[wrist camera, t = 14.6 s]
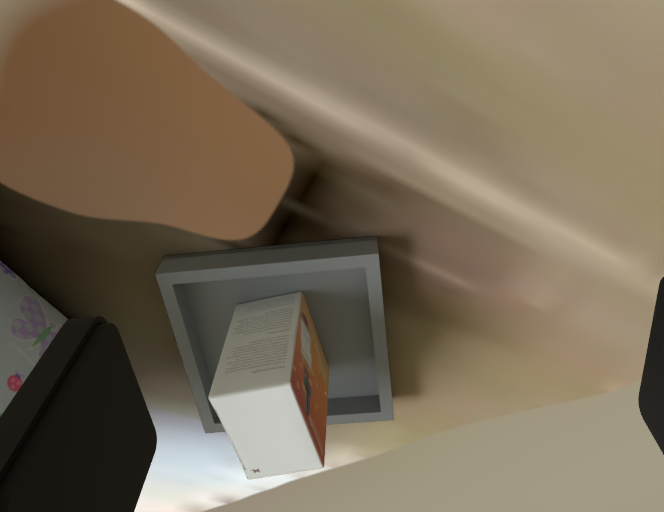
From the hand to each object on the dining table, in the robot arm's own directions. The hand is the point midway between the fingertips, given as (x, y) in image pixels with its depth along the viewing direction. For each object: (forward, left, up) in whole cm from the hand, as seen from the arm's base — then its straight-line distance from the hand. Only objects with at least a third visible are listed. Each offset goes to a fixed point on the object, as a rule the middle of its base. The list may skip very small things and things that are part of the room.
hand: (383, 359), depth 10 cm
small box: (+8, +22, -30) cm, 38 cm away
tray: (+8, +22, -30) cm, 38 cm away
